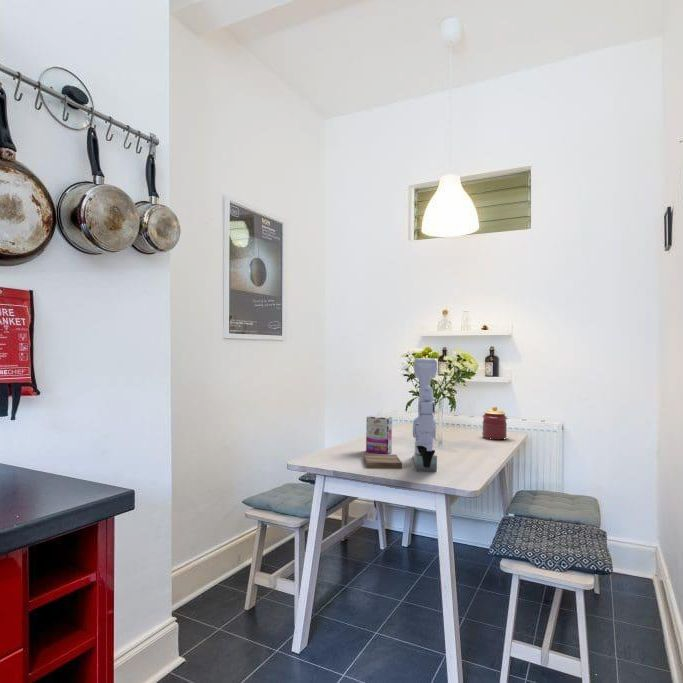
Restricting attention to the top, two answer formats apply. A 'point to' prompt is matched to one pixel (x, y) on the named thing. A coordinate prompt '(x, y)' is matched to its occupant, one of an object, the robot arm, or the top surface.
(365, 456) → the stand
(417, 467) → the housing
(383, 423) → the candy bar box
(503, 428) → the canister
